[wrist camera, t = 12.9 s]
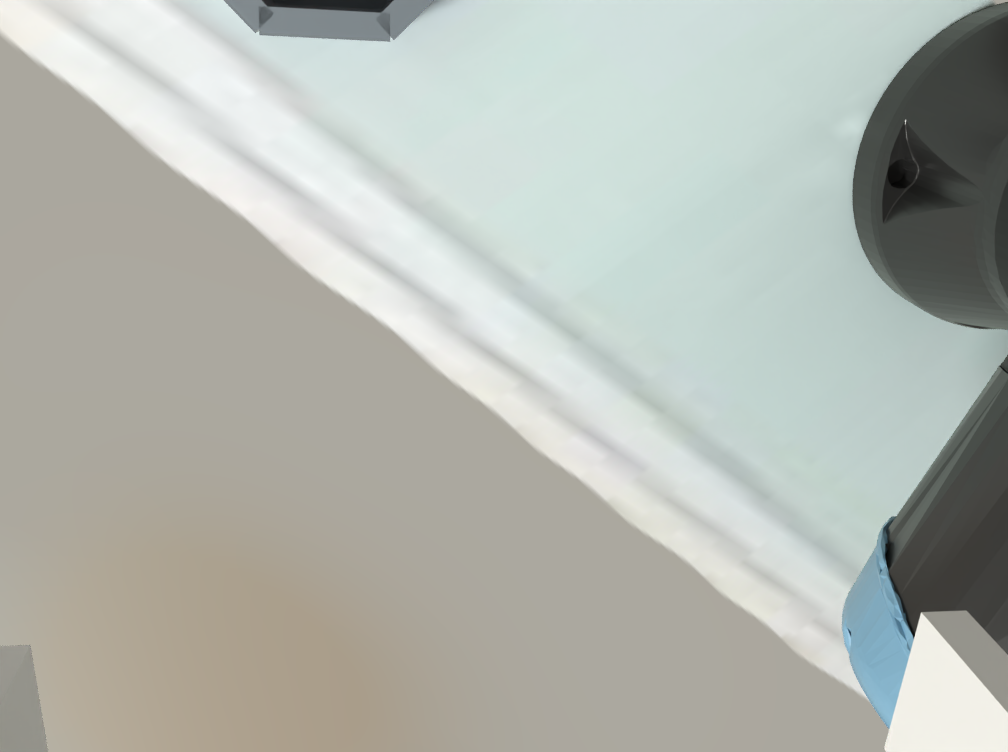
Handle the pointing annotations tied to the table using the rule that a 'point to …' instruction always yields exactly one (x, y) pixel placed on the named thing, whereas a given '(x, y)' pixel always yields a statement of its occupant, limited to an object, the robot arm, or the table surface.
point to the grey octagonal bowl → (330, 17)
